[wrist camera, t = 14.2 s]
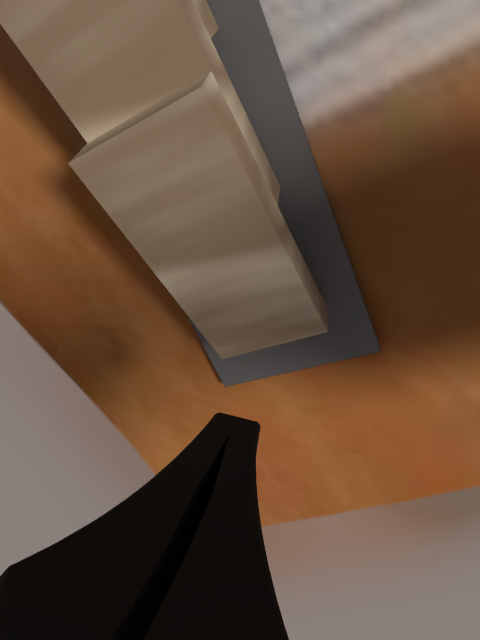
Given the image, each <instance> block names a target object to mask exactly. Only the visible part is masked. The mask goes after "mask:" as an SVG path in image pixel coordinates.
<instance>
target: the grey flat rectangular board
mask: <svg viewBox="0 0 480 640" xmlns="http://www.w3.org/2000/svg"><path fill="white" fill-rule="evenodd" d="M206 1H207V3H208V6H209V8H210V10H211V12H212V14H213V17H214V19H215V21H216V23H217V25H218V28H219V29H218V30H217V32H216V33H215V34H214V35H213V37H212V38H211V40H212V42H213V44H214V46H215V48H216V51H217V53H218V55H219V57H220V59H221V61H222V63H223V65H224V68H225V70H226V72H227V74H228V76H229V78H230V80H231V83H232V85H233V87H234V89H235V91H236V93H237V95H238V97H239V100H240V102H241V104H242V106H243V108H244V110H245V112H246V114H247V117H248V119H249V121H250V123H251V125H252V127H253V129H254V131H255V134H256V136H257V138H258V140H259V142H260V144H261V146H262V148H263V151H264V153H265V155H266V157H267V159H268V161H269V163H270V166H271V168H272V170H273V172H274V174H275V176H276V178H277V180H278V183H279V185H280V193H279V202H278V208H279V210H280V212H281V214H282V216H283V218H284V220H285V222H286V224H287V226H288V228H289V230H290V232H291V234H292V236H293V238H294V240H295V242H296V244H297V246H298V248H299V250H300V252H301V254H302V256H303V258H304V261H305V263H306V265H307V267H308V269H309V271H310V273H311V275H312V277H313V279H314V281H315V283H316V285H317V287H318V289H319V291H320V293H321V295H322V297H323V299H324V301H325V303H326V305H327V324H328V332H326V333H322V334H318V335H314V336H310V337H306V338H302V339H298V340H295V341H291V342H287V343H283V344H279V345H275V346H271V347H267V348H264V349H260V350H256V351H252V352H248V353H244V354H240V355H236V356H232V357H229V358H225V359H221V357H220V356H219V355H218V354H217V352H216V351H215V350H214V348H213V347H212V346H211V345H210V343H209V342H208V341H207V340H206V338H205V337H204V336H203V334H202V333H201V332H200V331H199V329H198V328H197V327H196V326H195V324H194V323H193V322H192V320H191V319H190V318H189V317H188V318H189V320H190V322H191V324H192V326H193V328H194V330H195V331H196V333H197V335H198V337H199V339H200V341H201V343H202V345H203V347H204V349H205V350H206V352H207V354H208V356H209V358H210V360H211V362H212V364H213V366H214V367H215V369H216V371H217V373H218V375H219V377H220V379H221V381H222V383H223V385H224V386H230V385H234V384H239V383H243V382H248V381H252V380H256V379H261V378H265V377H270V376H274V375H279V374H283V373H287V372H292V371H296V370H301V369H305V368H309V367H314V366H318V365H323V364H327V363H332V362H336V361H340V360H345V359H349V358H354V357H358V356H363V355H367V354H371V353H376V352H380V351H381V349H380V344H379V342H378V339H377V336H376V333H375V330H374V327H373V325H372V322H371V319H370V316H369V313H368V310H367V307H366V305H365V302H364V299H363V296H362V293H361V290H360V288H359V285H358V282H357V279H356V276H355V273H354V270H353V268H352V265H351V262H350V259H349V256H348V253H347V250H346V248H345V245H344V242H343V239H342V236H341V233H340V231H339V228H338V225H337V222H336V219H335V216H334V213H333V211H332V208H331V205H330V202H329V199H328V196H327V194H326V191H325V188H324V185H323V182H322V179H321V176H320V174H319V171H318V168H317V165H316V162H315V159H314V157H313V154H312V151H311V148H310V145H309V142H308V139H307V137H306V134H305V131H304V128H303V125H302V122H301V120H300V117H299V114H298V111H297V108H296V105H295V102H294V100H293V97H292V94H291V91H290V88H289V85H288V83H287V80H286V77H285V74H284V71H283V68H282V65H281V63H280V60H279V57H278V54H277V51H276V48H275V46H274V43H273V40H272V37H271V34H270V31H269V28H268V26H267V23H266V20H265V17H264V14H263V11H262V9H261V6H260V3H259V0H206ZM187 316H188V315H187Z"/></svg>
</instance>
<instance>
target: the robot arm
mask: <svg viewBox="0 0 480 640" xmlns="http://www.w3.org/2000/svg"><path fill="white" fill-rule="evenodd" d="M259 432H260V425H259V423H258V422H256V421H251V420H247V419H243V418H239V417H235V416H231V415H227V414H223V413H217V414H215V415H214V417H213V418H212V419H211V420H210V422H209V423H208V424H207V425H206V426H205V428H204V429H203V430H202V431H201V432H200V433H199V434H198V435H197V436H196V438H195V439H194V440H193V441H192V442H191V443H190V444H189V445H188V446H187V447H186V448H185V449H184V450H183V451H182V452H181V453H180V454H179V455H178V456H177V457H176V458H175V459H174V460H173V461H172V462H170V463H169V464H168V465H167V466H166V467H165V468H164V469H163V470H161V471H160V472H159V473H158V474H157V475H156V476H155V477H154V478H153V479H151V480H150V481H149V482H148V483H146V484H145V485H144V486H143V487H141V488H140V489H139V490H138V491H136V492H135V493H134V494H132V495H131V496H130V497H128V498H127V499H126V500H124V501H123V502H121V503H120V504H118V505H117V506H116V507H114V508H113V509H111V510H110V511H108V512H107V513H106V514H104V515H102V516H101V517H99V518H98V519H96V520H95V521H93V522H91V523H90V524H88V525H86V526H85V527H83V528H81V529H79V530H78V531H76V532H74V533H73V534H71V535H69V536H68V537H66V538H64V539H62V540H61V541H59V542H57V543H55V544H53V545H51V546H49V547H47V548H45V549H43V550H41V551H40V552H37V553H36V554H33V555H31V556H29V557H27V558H25V559H23V560H21V561H19V562H17V563H15V564H13V565H11V566H9V567H8V568H7V569H6V570H5V572H4V573H3V574H2V575H1V576H0V640H289V639H288V635H287V632H286V629H285V626H284V623H283V619H282V616H281V612H280V609H279V606H278V602H277V598H276V595H275V590H274V586H273V582H272V578H271V574H270V570H269V566H268V561H267V556H266V551H265V546H264V541H263V535H262V529H261V522H260V515H259V507H258V498H257V486H256V452H257V445H258V439H259Z"/></svg>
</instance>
